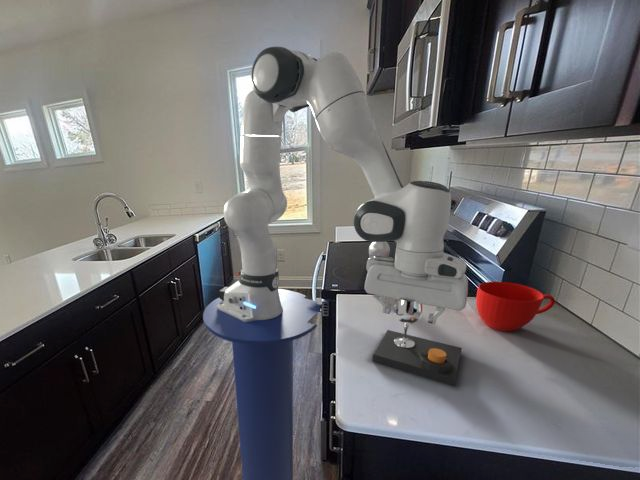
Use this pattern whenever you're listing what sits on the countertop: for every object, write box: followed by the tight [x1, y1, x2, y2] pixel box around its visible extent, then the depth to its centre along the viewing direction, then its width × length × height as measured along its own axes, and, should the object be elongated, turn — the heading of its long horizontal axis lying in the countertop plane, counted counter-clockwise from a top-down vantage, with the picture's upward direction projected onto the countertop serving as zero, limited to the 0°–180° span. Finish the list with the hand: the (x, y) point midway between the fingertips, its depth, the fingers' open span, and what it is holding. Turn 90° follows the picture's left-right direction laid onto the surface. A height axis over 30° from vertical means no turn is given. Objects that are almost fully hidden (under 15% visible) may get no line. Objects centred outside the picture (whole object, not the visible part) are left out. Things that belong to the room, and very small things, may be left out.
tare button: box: [428, 348, 447, 364], centre depth 67 cm, size 3×3×2 cm
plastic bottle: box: [368, 241, 391, 259], centre depth 107 cm, size 6×7×20 cm
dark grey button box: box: [371, 329, 463, 387], centre depth 72 cm, size 16×13×4 cm
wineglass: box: [393, 298, 424, 348], centre depth 73 cm, size 6×6×12 cm
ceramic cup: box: [475, 281, 556, 332], centre depth 82 cm, size 13×17×10 cm
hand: (408, 317), depth 73 cm, fingers open, 8 cm apart
